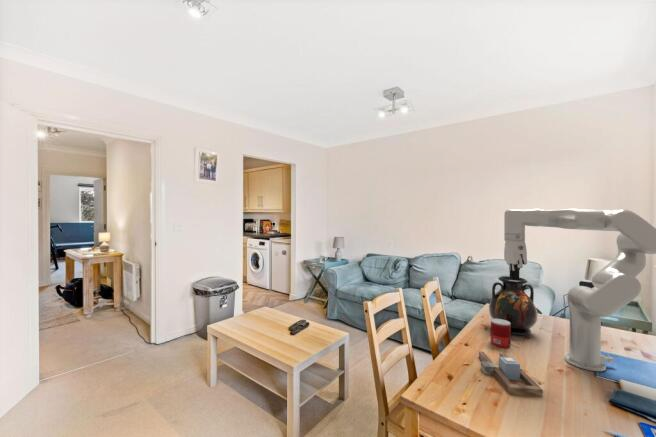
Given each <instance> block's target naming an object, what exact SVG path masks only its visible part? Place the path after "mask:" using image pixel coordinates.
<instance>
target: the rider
mask: <svg viewBox="0 0 656 437" xmlns="http://www.w3.org/2000/svg"><path fill="white" fill-rule="evenodd" d="M520 367H521V364H520V363H519V361H517V360H516V359H515V358H514V357H509V356H508V357H500V356H498V368H499V370H500V371H501V372H502V373H503V374H504V375H505V376H506V377H507V378H508V380H509V381H517V382H520V381H521V380H520Z"/></svg>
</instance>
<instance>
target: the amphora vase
mask: <svg viewBox="0 0 656 437" xmlns="http://www.w3.org/2000/svg"><path fill="white" fill-rule="evenodd" d="M497 280H498V281H500V282H497V281H496V282H493V284H492V286H491V300H490V301H489V304H488V312H489V315H490V317H491V318H492V319H503V320H506V321H509V322H510V324H511V337H512V336H514V337H521V338H523V337H529V336H531V334H532V329H531V328H533V327H534V325H536V324H537V321H538V311H537V307H536V306H535V303H534V294H535V291H534V288H533V286H532V285H531V284H527V283H528V280H527V279H525V278H522V277H519V280H511V279H510V275H505V276H499V277H498V278H497ZM497 286H500V289H499V290H498V291H496V287H497ZM527 287H528V288H529V292H530V294H529V295H528V294H527V293H526V292H525V289H526V288H527Z"/></svg>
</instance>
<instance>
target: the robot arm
mask: <svg viewBox="0 0 656 437" xmlns="http://www.w3.org/2000/svg"><path fill="white" fill-rule="evenodd" d="M503 216H504V218H503V219H504V222H503V223H504V226H503V227H504V230H503V231H504V233H503V234H504V235H503V236H504V240H503V241H504V250H503V252H504V254H503V260H504V261H505V262H506V265H508V269H509V276H510V279H511V280H519V278H520V271H521V269H522V268H524V266H525V265H527V264H528V254H527V253H528V252H527V245H526V226H527V227H543V228H545V227H546V228H548V227H549V228H559V229H564V230H565V229H566V230H578V231H579V230H581V231H583V230H584V231H602V232H620V233H619V234H618V235H617V236H616V237H617V238H616V244H617V245H616V246H617V255H616V257H614V258H613V259H612V260H611V261H610V262H609V263H608V264H606V265H605V266H604V267H603V268H601V269H599V270H597V272H596V273H594V275H593V276H592V277H591V284H592V285H593V287H595V289H594V288H592V287H589V286H584V285H576V286H573V287H571V288H570V289H569V290H568V292H567V296H566V299H567V305H568V311H569V341H568V342H569V343H568V344H569V345H568V346H569V347H568V348H569V349H568V352H569V353H565V354H564V360H565V361H566V362H567V363H568V364H570V365H572V366H575V367H577V368H581V369H583V370H586V371H593V372H604V371H606V369H607V366H606V364H605V363H615V359H614V357H612V356H605V355H604V354H602V353H601V352H602V349H601V348H602V346H601V345H602V343H601V341H602V340H601V339H602V335H601V334H602V333H601V332H602V323H601V318H608V317H610V316H612V315H614V314H616V313H618V312H619V311H620V310H622V309H623V308H624V307H625V306H627V305H628V304H630V303H631V302H632V301H634V300H635V299H636V298H637V297H638V296H639V295H640V293H641V292H642V291H641V290H642V284H641V282H640V281H639V279H638V278H637V277H638V275H640V274H641V273H642V272H643V271H644V269H645V268H646V264H647V257H646V254H647V255H656V227H654V226H653V225H652V224H651V223H650V222H648V221H647V220H646V219H644V218H643V217H641V216H640V215H638V213H636V212H633V211H631V210H629V209H589V208H587V209H583V208H567V209H542V208H529V209H507V210H505V211H504V215H503ZM523 265H524V266H523Z"/></svg>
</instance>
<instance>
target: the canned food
mask: <svg viewBox="0 0 656 437" xmlns="http://www.w3.org/2000/svg"><path fill="white" fill-rule="evenodd" d="M511 337H512V335H511V324H510V322H509V321H506V320H503V319H490V342H491V344H492V345H493V346H494V347H497V348H502V349H508V348H511V342H512V341H511V340H512V339H511Z"/></svg>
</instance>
